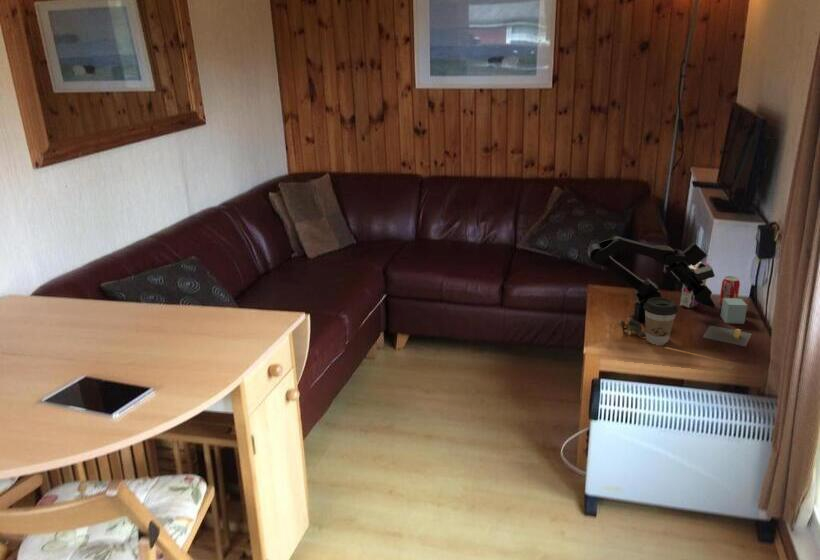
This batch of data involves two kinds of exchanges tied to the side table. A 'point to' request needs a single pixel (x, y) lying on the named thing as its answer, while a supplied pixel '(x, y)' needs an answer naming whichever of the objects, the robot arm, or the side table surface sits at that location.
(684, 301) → the candy bar box
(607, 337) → the side table surface
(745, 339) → the mat
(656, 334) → the coffee cup
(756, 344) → the side table surface
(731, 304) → the block
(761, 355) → the side table surface
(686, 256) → the robot arm
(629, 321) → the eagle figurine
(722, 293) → the beverage can
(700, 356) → the side table surface
